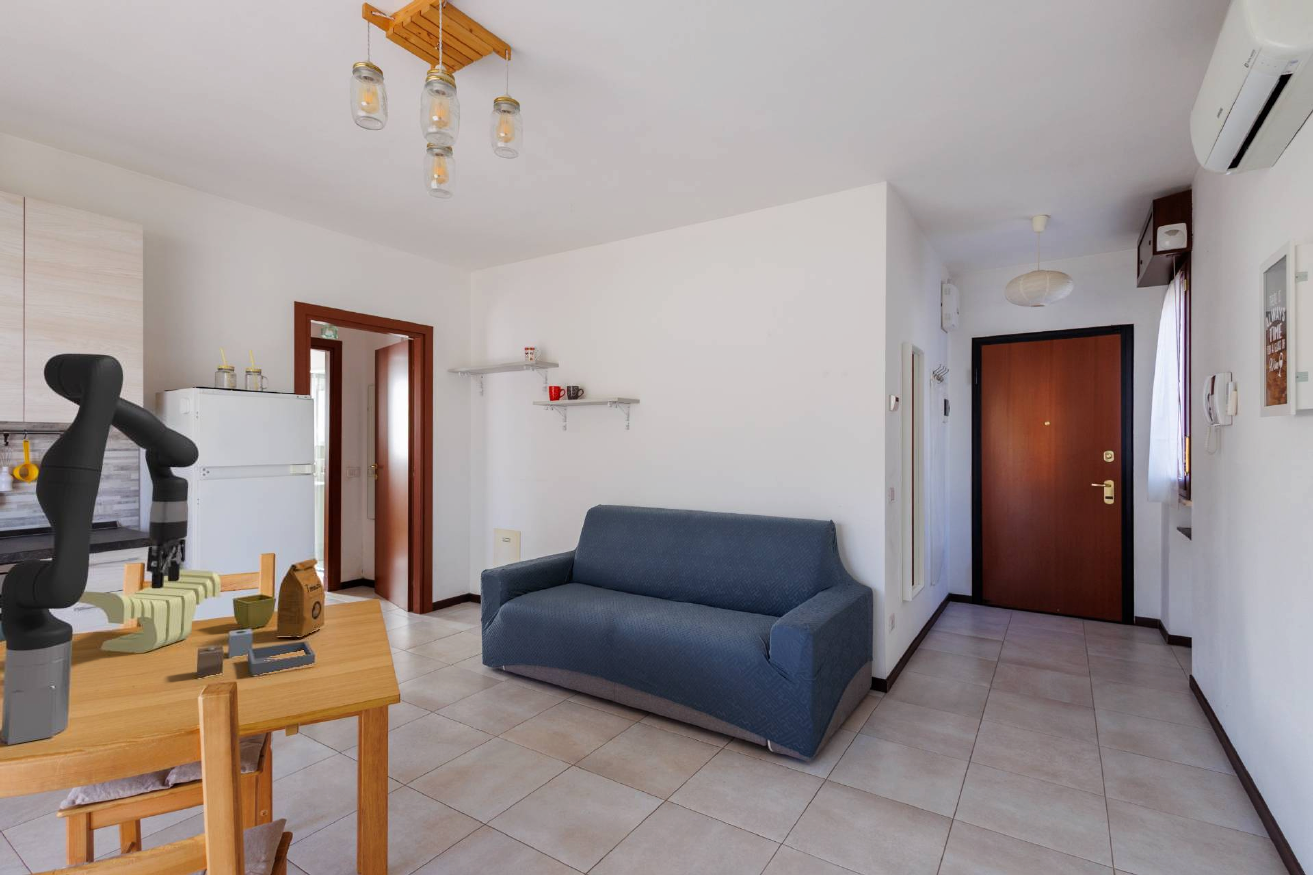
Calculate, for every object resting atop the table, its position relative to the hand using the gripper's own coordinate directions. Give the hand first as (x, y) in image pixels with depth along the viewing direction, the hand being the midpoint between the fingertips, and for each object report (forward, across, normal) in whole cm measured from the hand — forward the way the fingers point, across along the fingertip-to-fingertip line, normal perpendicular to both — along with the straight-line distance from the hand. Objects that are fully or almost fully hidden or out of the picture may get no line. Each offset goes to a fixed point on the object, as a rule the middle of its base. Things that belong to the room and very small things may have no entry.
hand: (165, 584), depth 155 cm
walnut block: (+22, -4, -12) cm, 25 cm away
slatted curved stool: (+22, +24, +13) cm, 35 cm away
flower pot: (+22, +37, -9) cm, 44 cm away
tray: (+21, 0, -26) cm, 34 cm away
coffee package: (+22, +27, -25) cm, 43 cm away
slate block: (+21, +10, -14) cm, 28 cm away
